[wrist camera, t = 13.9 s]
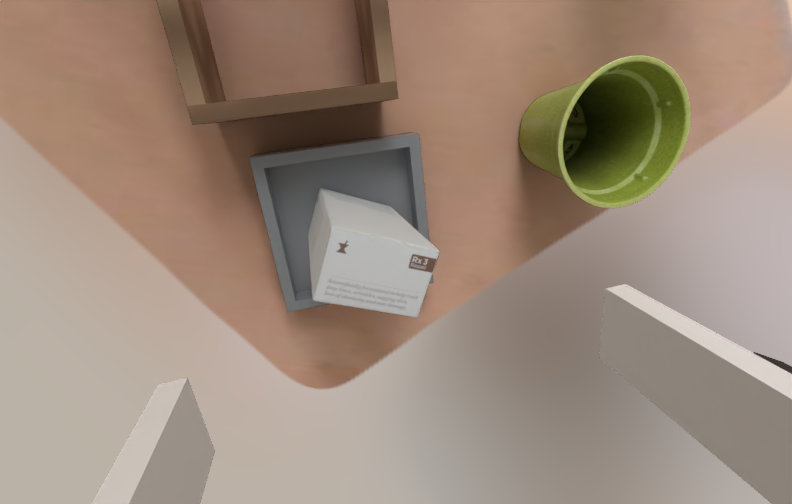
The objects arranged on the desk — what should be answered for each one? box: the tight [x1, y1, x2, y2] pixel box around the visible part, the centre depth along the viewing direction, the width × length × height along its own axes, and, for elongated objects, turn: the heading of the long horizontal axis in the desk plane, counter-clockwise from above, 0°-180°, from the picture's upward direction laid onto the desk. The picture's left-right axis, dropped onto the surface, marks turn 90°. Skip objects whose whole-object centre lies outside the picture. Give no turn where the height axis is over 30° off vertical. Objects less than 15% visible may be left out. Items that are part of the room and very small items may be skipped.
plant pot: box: [519, 55, 691, 208], centre depth 29 cm, size 9×9×9 cm
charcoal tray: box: [249, 133, 433, 312], centre depth 31 cm, size 12×12×2 cm
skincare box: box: [308, 188, 440, 318], centre depth 25 cm, size 6×4×12 cm
